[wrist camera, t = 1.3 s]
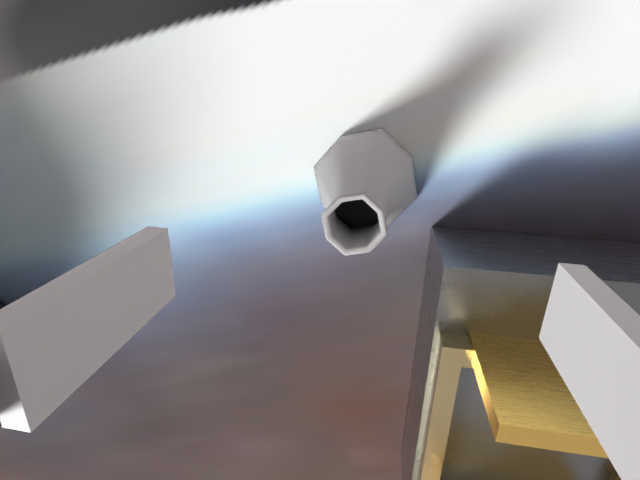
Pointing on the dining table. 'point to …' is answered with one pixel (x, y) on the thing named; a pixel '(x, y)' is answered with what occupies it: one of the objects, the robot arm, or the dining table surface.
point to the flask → (363, 189)
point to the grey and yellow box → (502, 360)
